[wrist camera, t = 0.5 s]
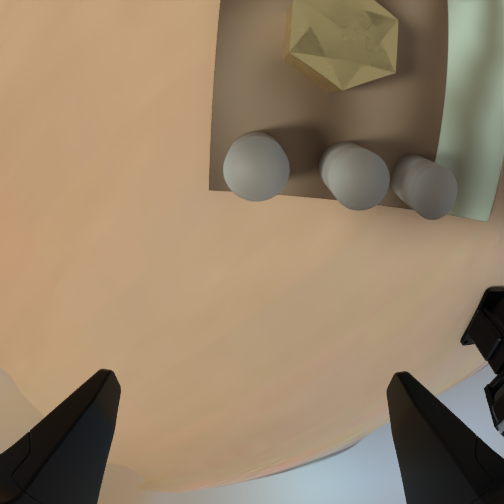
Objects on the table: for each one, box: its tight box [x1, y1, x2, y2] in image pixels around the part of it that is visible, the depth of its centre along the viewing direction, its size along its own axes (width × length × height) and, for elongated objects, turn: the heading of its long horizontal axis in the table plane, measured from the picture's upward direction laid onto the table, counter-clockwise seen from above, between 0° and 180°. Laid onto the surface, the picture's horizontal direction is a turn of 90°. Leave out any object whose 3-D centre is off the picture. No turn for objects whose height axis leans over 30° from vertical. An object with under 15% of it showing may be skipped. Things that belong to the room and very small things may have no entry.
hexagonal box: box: [283, 0, 398, 92], centre depth 12 cm, size 5×6×3 cm
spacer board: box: [209, 0, 504, 222], centre depth 12 cm, size 20×18×4 cm
